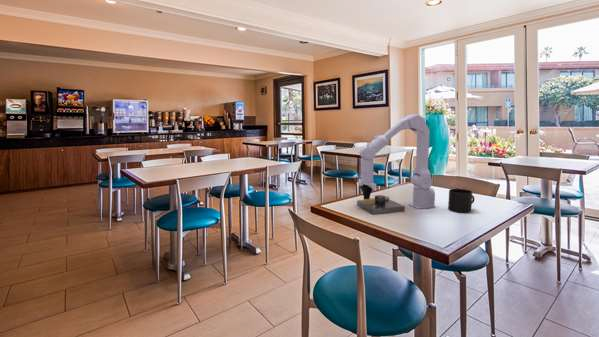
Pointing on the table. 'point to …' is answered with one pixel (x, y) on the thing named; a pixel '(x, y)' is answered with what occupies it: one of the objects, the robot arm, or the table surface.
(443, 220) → the table surface
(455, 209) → the mug
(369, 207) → the tribrach base
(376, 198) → the level knob
